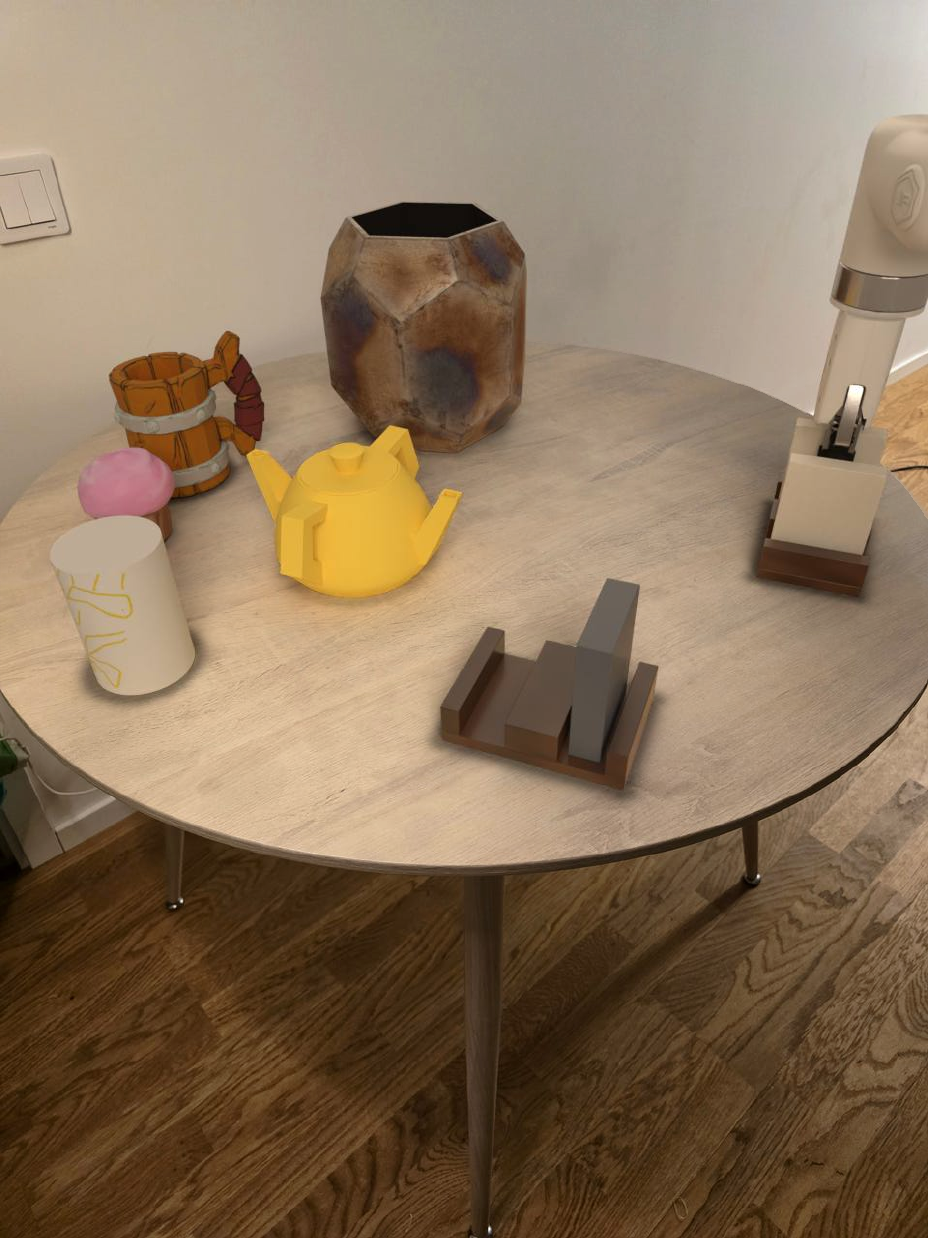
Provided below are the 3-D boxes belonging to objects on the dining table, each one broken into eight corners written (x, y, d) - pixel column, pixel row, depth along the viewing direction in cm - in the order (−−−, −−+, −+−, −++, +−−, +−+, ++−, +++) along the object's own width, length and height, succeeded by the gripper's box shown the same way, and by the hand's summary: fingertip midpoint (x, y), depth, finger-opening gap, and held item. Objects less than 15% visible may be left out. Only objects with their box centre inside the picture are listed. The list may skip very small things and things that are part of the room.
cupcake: (199, 521, 91) (177, 434, 84) (172, 569, 84) (146, 478, 78) (116, 519, 91) (89, 433, 85) (83, 567, 84) (50, 476, 78)
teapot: (416, 501, 93) (409, 396, 85) (470, 587, 80) (468, 473, 73) (260, 533, 88) (238, 426, 81) (292, 629, 76) (270, 512, 69)
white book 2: (857, 562, 80) (888, 466, 74) (856, 572, 79) (887, 476, 73) (768, 546, 83) (791, 452, 77) (766, 556, 82) (789, 461, 75)
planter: (559, 444, 102) (569, 231, 88) (359, 481, 96) (335, 260, 82) (493, 374, 119) (492, 186, 104) (319, 403, 113) (292, 207, 98)
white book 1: (776, 507, 88) (797, 416, 82) (859, 521, 86) (888, 429, 80) (774, 516, 87) (796, 424, 81) (859, 530, 85) (888, 437, 78)
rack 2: (864, 519, 88) (873, 489, 86) (858, 597, 78) (869, 565, 76) (772, 504, 91) (779, 474, 89) (756, 577, 81) (763, 546, 79)
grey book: (626, 691, 68) (640, 584, 61) (600, 763, 62) (612, 653, 55) (596, 684, 68) (607, 577, 62) (567, 754, 62) (576, 645, 56)
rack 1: (653, 698, 68) (658, 665, 66) (623, 790, 61) (628, 757, 59) (487, 658, 73) (487, 626, 70) (441, 740, 65) (439, 706, 63)
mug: (122, 469, 100) (83, 342, 91) (258, 435, 106) (235, 312, 97) (144, 511, 92) (105, 377, 83) (289, 471, 99) (267, 342, 89)
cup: (74, 673, 72) (26, 554, 65) (149, 621, 77) (112, 505, 70) (142, 708, 69) (99, 586, 61) (215, 651, 74) (183, 532, 67)
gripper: (838, 255, 79) (795, 438, 91) (827, 312, 68) (779, 513, 79) (928, 263, 77) (871, 450, 88) (932, 323, 65) (866, 528, 77)
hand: (828, 478), depth 84 cm, fingers closed on white book 1, 2 cm apart
